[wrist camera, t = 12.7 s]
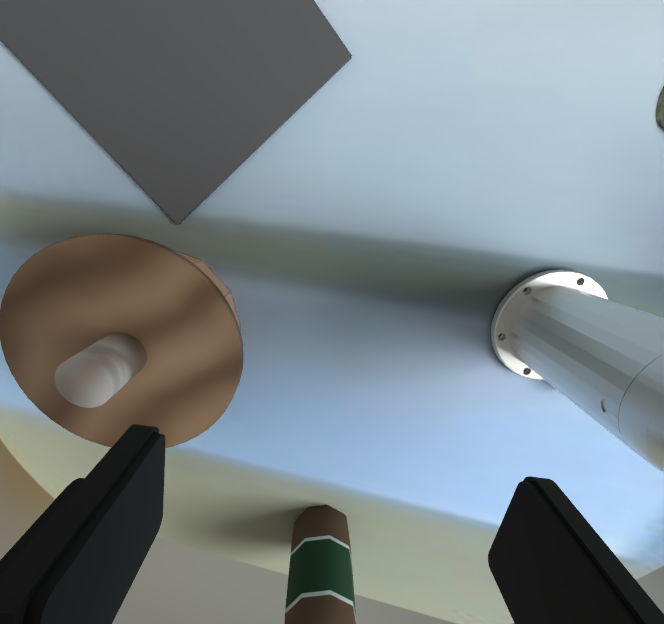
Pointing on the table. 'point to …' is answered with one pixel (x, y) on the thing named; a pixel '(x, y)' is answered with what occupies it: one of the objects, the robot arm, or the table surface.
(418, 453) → the table surface
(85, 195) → the table surface
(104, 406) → the lid
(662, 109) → the soupspoon
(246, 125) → the mat
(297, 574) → the beer bottle
